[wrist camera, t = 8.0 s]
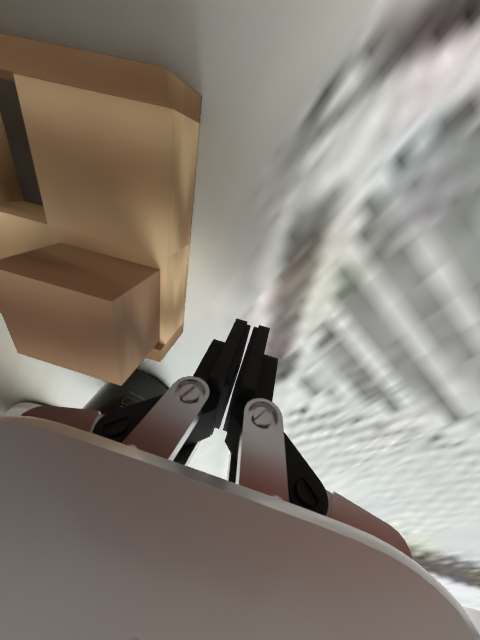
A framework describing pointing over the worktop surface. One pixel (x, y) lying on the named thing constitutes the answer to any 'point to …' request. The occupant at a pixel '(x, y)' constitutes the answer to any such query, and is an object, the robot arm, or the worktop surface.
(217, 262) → the worktop surface
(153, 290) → the walnut block
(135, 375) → the supplement bottle
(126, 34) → the worktop surface
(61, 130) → the trap trough
